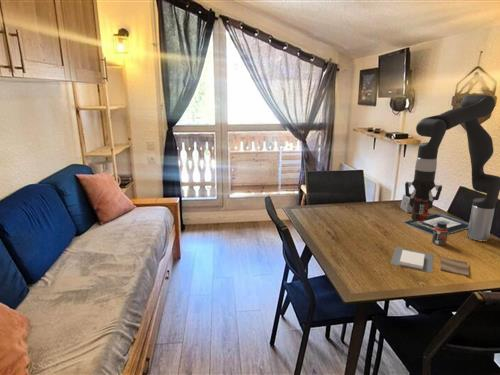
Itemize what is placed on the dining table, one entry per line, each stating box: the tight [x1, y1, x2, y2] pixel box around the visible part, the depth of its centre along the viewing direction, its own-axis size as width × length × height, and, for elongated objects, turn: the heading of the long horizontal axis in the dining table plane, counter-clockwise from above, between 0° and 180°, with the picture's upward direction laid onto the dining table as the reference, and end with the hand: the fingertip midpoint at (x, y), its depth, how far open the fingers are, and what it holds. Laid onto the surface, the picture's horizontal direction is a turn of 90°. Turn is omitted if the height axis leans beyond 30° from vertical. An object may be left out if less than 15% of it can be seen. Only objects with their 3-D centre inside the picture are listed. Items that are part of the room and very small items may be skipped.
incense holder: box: [400, 194, 412, 214], centre depth 206 cm, size 10×8×10 cm
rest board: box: [440, 256, 470, 278], centre depth 140 cm, size 12×10×1 cm
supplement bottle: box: [431, 221, 449, 247], centre depth 161 cm, size 6×6×11 cm
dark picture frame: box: [402, 212, 469, 236], centre depth 185 cm, size 22×30×2 cm
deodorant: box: [410, 185, 432, 221], centre depth 138 cm, size 6×6×15 cm
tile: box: [399, 250, 425, 269], centre depth 145 cm, size 2×9×12 cm
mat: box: [390, 247, 434, 274], centre depth 147 cm, size 18×16×1 cm
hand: (420, 207), depth 139 cm, fingers closed on deodorant, 6 cm apart
